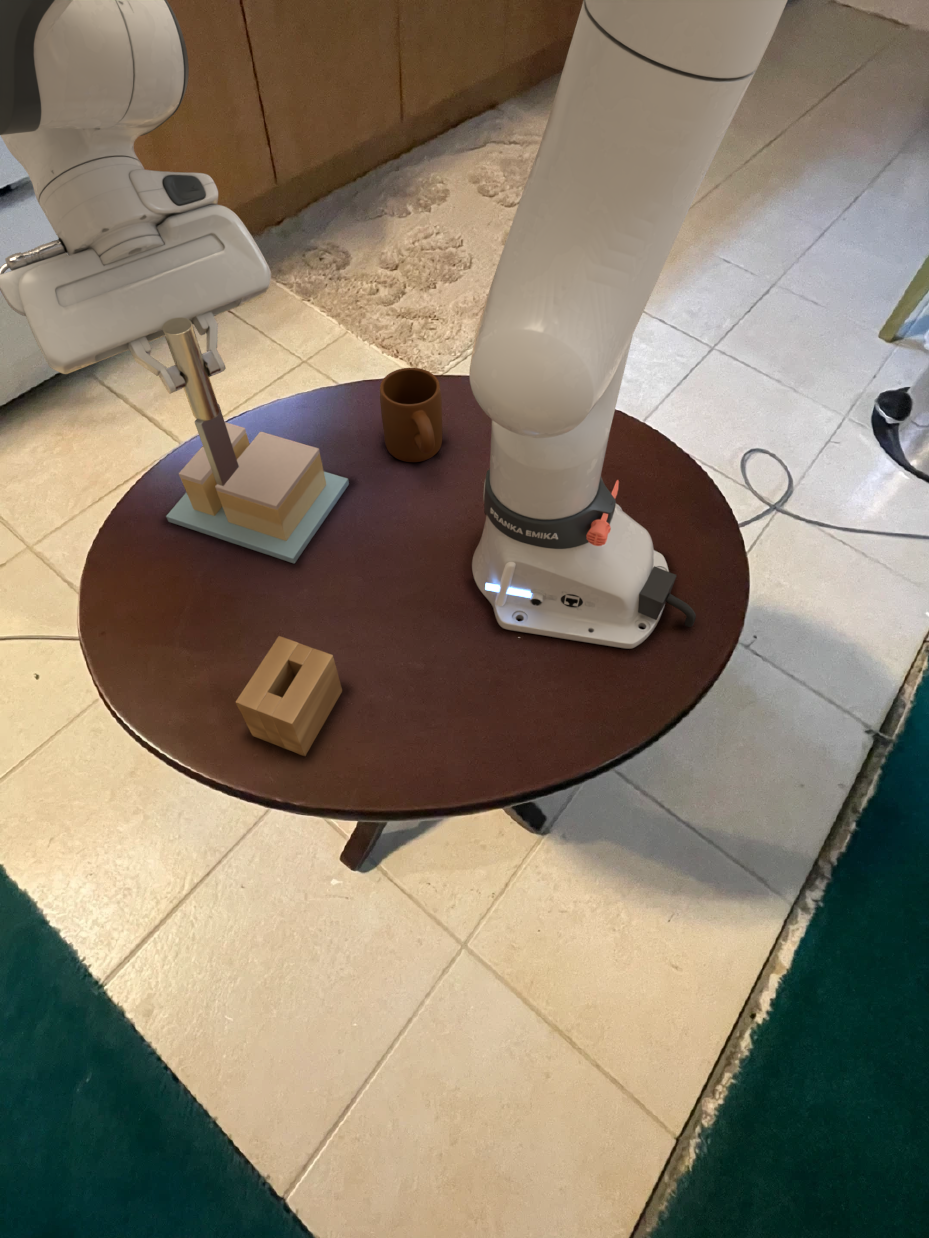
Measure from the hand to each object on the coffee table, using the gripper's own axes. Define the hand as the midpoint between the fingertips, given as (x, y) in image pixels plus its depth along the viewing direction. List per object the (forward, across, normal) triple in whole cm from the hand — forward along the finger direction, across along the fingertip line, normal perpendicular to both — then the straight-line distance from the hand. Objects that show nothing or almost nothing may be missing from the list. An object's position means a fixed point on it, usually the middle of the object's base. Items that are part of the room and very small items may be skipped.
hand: (198, 381), depth 67 cm
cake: (+12, +5, +25) cm, 29 cm away
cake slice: (+8, +3, +28) cm, 29 cm away
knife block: (+32, -6, +6) cm, 33 cm away
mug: (+16, +26, +22) cm, 37 cm away
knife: (+8, 0, +9) cm, 12 cm away
